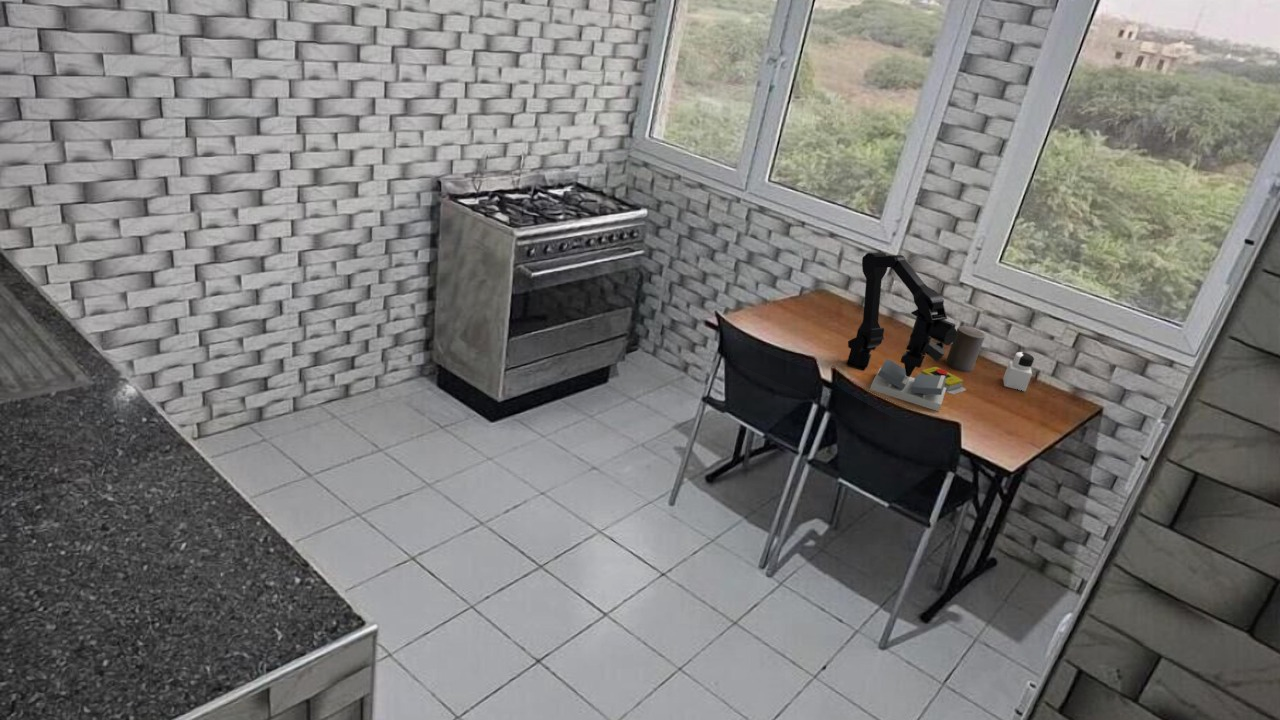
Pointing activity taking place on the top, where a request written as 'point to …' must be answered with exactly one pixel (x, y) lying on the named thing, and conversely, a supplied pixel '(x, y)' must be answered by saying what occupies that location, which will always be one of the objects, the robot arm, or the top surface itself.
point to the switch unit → (907, 393)
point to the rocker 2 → (928, 384)
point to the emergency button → (951, 383)
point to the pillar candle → (965, 349)
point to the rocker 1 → (894, 374)
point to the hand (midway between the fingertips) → (907, 376)
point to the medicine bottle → (1019, 371)
